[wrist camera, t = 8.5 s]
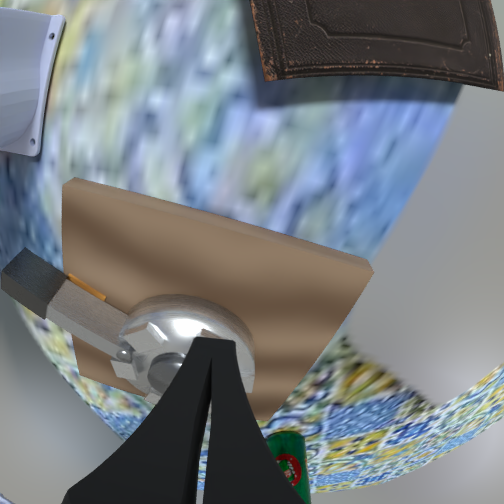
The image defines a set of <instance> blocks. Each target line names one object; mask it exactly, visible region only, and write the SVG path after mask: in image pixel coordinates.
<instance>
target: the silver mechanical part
mask: <svg viewBox="0 0 504 504" xmlns="http://www.w3.org/2000/svg"><path fill="white" fill-rule="evenodd" d="M1 289H2V290H4V291H5V292H6V293H7V294H9V295H10V296H11V297H13V298H14V299H15V300H17V301H18V302H20V303H21V304H22V305H24V306H25V307H27V308H28V309H29V310H31V311H32V312H34V313H35V314H37V315H38V316H40V317H41V318H43V319H44V320H45V318H48V319H49V320H51V321H52V322H54V323H55V324H57V325H58V326H60V327H62V328H63V329H65V330H66V331H68V332H70V333H71V334H73V335H75V336H76V337H78V338H80V339H82V340H83V341H85V342H87V343H89V344H90V345H92V346H94V347H96V348H98V349H99V350H101V351H103V352H105V353H107V354H109V355H111V356H112V357H111V360H110V361H111V363H112V366H113V368H114V371H115V373H116V376H117V377H120V378H125V379H127V380H128V381H129V382H130V383H131V384H132V385H133V386H135V387H136V388H137V389H139V390H140V391H142V392H144V393H145V398H144V400H146V401H148V402H151V403H153V404H155V405H156V404H157V403H158V401H159V400H160V398H161V397H162V395H163V394H164V392H165V391H166V390H167V388H168V387H169V385H170V383H171V382H172V380H173V378H174V377H175V375H176V373H177V372H178V370H179V368H180V366H181V365H182V363H183V361H184V359H185V357H186V355H187V353H188V351H189V349H190V346H191V344H192V341H193V339H194V338H195V337H197V336H198V337H207V338H217V339H227V340H233V341H235V342H236V353H237V360H238V365H239V370H240V374H241V378H242V382H243V385H244V388H245V392H246V393H252V390H253V383H254V379H255V345H254V339H253V337H252V334H251V332H250V331H249V329H248V327H247V326H246V325H245V323H244V322H243V321H242V320H241V319H240V318H239V317H238V316H236V315H235V314H234V313H232V312H231V311H230V310H228V309H226V308H225V307H223V306H221V305H219V304H217V303H215V302H212V301H209V300H207V299H204V298H200V297H196V296H191V295H184V294H163V295H158V296H153V297H150V298H147V299H145V300H143V301H140V302H139V303H137V304H136V305H135V306H133V307H132V308H131V309H130V311H129V312H128V314H125V313H123V312H121V311H120V310H118V309H116V308H114V307H112V306H111V305H109V304H107V303H105V302H104V301H102V300H100V299H99V298H97V297H95V296H93V295H92V294H90V293H88V292H87V291H85V290H84V289H82V288H80V287H79V286H77V285H75V284H74V283H72V282H71V281H69V280H68V279H67V275H65V274H64V273H62V272H61V271H59V270H57V269H56V268H54V267H53V266H51V265H50V264H48V263H47V262H46V261H44V260H43V259H41V258H40V257H38V256H37V255H35V254H34V253H33V252H31V251H30V250H28V249H27V248H26V247H25V248H24V249H23V250H22V251H21V252H20V253H19V254H18V255H17V256H16V257H15V258H14V259H13V260H12V261H11V262H10V263H9V264H8V265H7V266H6V267H5V268H4V269H3V270H2V275H1ZM208 413H211V403H210V408H209V412H208Z"/></svg>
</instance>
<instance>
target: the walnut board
mask: <svg viewBox="0 0 504 504" xmlns="http://www.w3.org/2000/svg"><path fill="white" fill-rule="evenodd" d="M62 252H63V268H64V274H65V275H67V279H68V280H69V281H71V282H72V283H74V284H75V285H77V286H79V287H80V288H82V289H84V290H85V291H87V292H88V293H90V294H92V295H93V296H95V297H97V298H99V299H100V300H102V301H104V302H105V303H107V304H109V305H111V306H112V307H114V308H116V309H118V310H120V311H121V312H123V313H125V314H128V312H129V311H130V309H131V308H132V307H133V306H135V305H136V304H137V303H139V302H140V301H143V300H145V299H147V298H150V297H153V296H158V295H163V294H184V295H191V296H196V297H200V298H204V299H207V300H209V301H212V302H215V303H217V304H219V305H221V306H223V307H225V308H226V309H228V310H230V311H231V312H232V313H234V314H235V315H236V316H238V317H239V318H240V319H241V320H242V321H243V322H244V323H245V325H246V326H247V327H248V329H249V331H250V332H251V334H252V337H253V339H254V345H255V379H254V383H253V390H252V393H246V395H247V398H248V401H249V404H250V406H251V409H252V412H253V414H254V417H255V419H256V420H262V421H268V420H269V419H270V418H271V417H272V416H273V415H274V413H275V412H276V411H277V410H278V409H279V407H280V406H281V405H282V404H283V402H284V401H285V400H286V399H287V398H288V396H289V395H290V394H291V393H292V391H293V390H294V389H295V388H296V386H297V385H298V384H299V382H300V381H301V380H302V378H303V377H304V376H305V375H306V373H307V372H308V371H309V369H310V368H311V367H312V365H313V364H314V363H315V361H316V360H317V358H318V357H319V356H320V354H321V353H322V352H323V350H324V349H325V347H326V346H327V345H328V343H329V342H330V340H331V339H332V337H333V336H334V335H335V333H336V332H337V330H338V329H339V327H340V326H341V324H342V323H343V321H344V320H345V318H346V317H347V315H348V314H349V312H350V311H351V309H352V308H353V306H354V304H355V303H356V301H357V300H358V298H359V297H360V295H361V293H362V292H363V290H364V288H365V287H366V285H367V284H368V282H369V280H370V279H371V277H372V275H373V274H374V271H373V269H372V267H371V266H370V264H369V262H368V260H366V259H363V258H360V257H357V256H354V255H350V254H347V253H344V252H341V251H338V250H334V249H331V248H328V247H325V246H322V245H318V244H315V243H312V242H308V241H305V240H302V239H298V238H295V237H292V236H288V235H285V234H282V233H278V232H275V231H272V230H268V229H265V228H261V227H258V226H254V225H251V224H248V223H244V222H241V221H237V220H234V219H230V218H227V217H223V216H219V215H216V214H212V213H209V212H205V211H202V210H198V209H194V208H191V207H187V206H183V205H180V204H176V203H172V202H169V201H165V200H161V199H157V198H154V197H150V196H146V195H142V194H138V193H135V192H131V191H127V190H123V189H119V188H115V187H111V186H107V185H103V184H99V183H95V182H91V181H87V180H83V179H79V178H75V177H74V178H73V179H71V180H70V181H68V182H67V183H65V184H64V185H63V187H62ZM72 340H73V345H74V350H75V355H76V360H77V365H78V369H79V373H80V375H81V376H84V377H86V378H89V379H92V380H94V381H97V382H100V383H103V384H106V385H108V386H111V387H114V388H117V389H120V390H124V391H127V392H130V393H133V394H137V395H140V396H143V397H145V393H144V392H142V391H140V390H139V389H137V388H136V387H135V386H133V385H132V384H131V383H130V382H129V381H128V380H127V379H125V378H120V377H117V376H116V373H115V371H114V368H113V366H112V363H111V361H110V360H111V357H112V356H111V355H109V354H107V353H105V352H103V351H101V350H99V349H98V348H96V347H94V346H92V345H90V344H89V343H87V342H85V341H83V340H82V339H80V338H78V337H76V336H75V335H73V334H72Z"/></svg>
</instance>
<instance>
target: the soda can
mask: <svg viewBox="0 0 504 504" xmlns="http://www.w3.org/2000/svg"><path fill="white" fill-rule="evenodd" d="M266 443H267V445H268V447H269V448H270V450H271V452H272V454H273V456H274V457H275V459H276V461H277V463H278V464H279V466H280V467H281V469H282V470H283V472H284V473H285V475H286V477H287V478H288V480H289V481H290V483H291V484H292V486H293V487H294V488H295V490H296V491H297V492H298V494H299V495H300V496H301V498H302V499H303V500H304V501H305V503H306V504H311V496H310V485H309V474H308V464H307V455H306V445H305V438H304V436H302V435H301V434H300V433H298V432H294V431H283V432H278V433H275V434H272V435H271V436H269V437H268V439H267V440H266Z"/></svg>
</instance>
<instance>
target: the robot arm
mask: <svg viewBox="0 0 504 504" xmlns="http://www.w3.org/2000/svg"><path fill="white" fill-rule="evenodd" d="M64 24H65V17H64V16H62V15H47V14H42V13H37V12H31V11H25V10H19V9H12V8H4V7H0V150H1V151H6V152H12V153H17V154H22V155H27V156H32V157H33V156H36V155H38V154H39V152H40V146H41V135H42V126H43V118H44V110H45V104H46V98H47V92H48V87H49V81H50V77H51V72H52V67H53V63H54V59H55V55H56V51H57V47H58V44H59V40H60V37H61V33H62V30H63V27H64ZM54 34H55V37H54V39H53V40H52V36H53V35H54ZM33 140H35V144H34V142H33ZM210 403H211V429H210V439H209V448H208V457H207V467H206V477H205V486H204V496H203V504H306V503H305V501H304V500H303V499H302V498H301V496H300V495H299V494H298V492H297V491H296V490H295V488H294V487H293V486H292V484H291V483H290V481H289V480H288V478H287V477H286V475H285V473H284V472H283V470H282V469H281V467H280V466H279V464H278V463H277V461H276V459H275V457H274V456H273V454H272V452H271V450H270V448H269V447H268V445H267V443H266V441H265V439H264V437H263V435H262V433H261V430H260V428H259V426H258V424H257V421H256V419H255V417H254V414H253V412H252V409H251V406H250V404H249V401H248V398H247V395H246V392H245V388H244V385H243V382H242V378H241V374H240V370H239V365H238V360H237V353H236V342H235V341H233V340H227V339H217V338H207V337H198V336H197V337H195V338H194V339H193V341H192V344H191V346H190V349H189V351H188V353H187V355H186V357H185V359H184V361H183V363H182V365H181V366H180V368H179V370H178V372H177V373H176V375H175V377H174V378H173V380H172V382H171V383H170V385H169V387H168V388H167V390H166V391H165V392H164V394H163V395H162V397H161V398H160V400H159V401H158V403H157V404H156V405H155V407H154V408H153V409H152V411H151V412H150V413H149V415H148V416H147V417H146V418H145V420H144V421H143V422H142V423H141V425H140V426H139V427H138V428H137V429H136V430H135V431H134V433H133V434H132V435H131V436H130V437H129V438H128V439H127V440H126V441H125V442H124V443H123V444H122V445H121V446H120V448H118V449H117V450H116V451H115V452H114V453H113V454H112V455H111V456H110V457H109V458H108V459H106V460H105V461H104V462H103V463H102V464H101V465H100V466H99V467H97V468H96V469H95V470H94V471H93V472H91V473H90V474H89V475H87V476H86V477H85V478H83V479H82V480H80V481H79V482H78V483H76V484H75V485H74V486H72V487H71V488H70V489H69V490H68V491H67V493H66V495H65V496H64V499H63V502H62V503H61V504H196V496H197V483H198V470H199V460H200V453H201V447H202V442H203V437H204V432H205V427H206V422H207V417H208V412H209V408H210ZM0 504H14V503H13V502H11V501H9V500H8V499H6V498H5V497H4V496H3V494H1V493H0Z"/></svg>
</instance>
